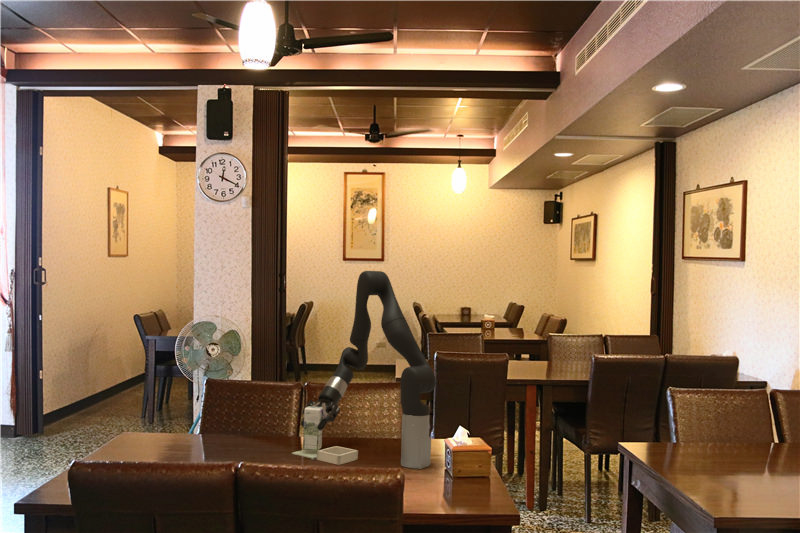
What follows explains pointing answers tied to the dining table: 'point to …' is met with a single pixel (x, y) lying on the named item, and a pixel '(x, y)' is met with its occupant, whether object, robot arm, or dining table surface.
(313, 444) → the syrup box
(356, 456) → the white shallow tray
